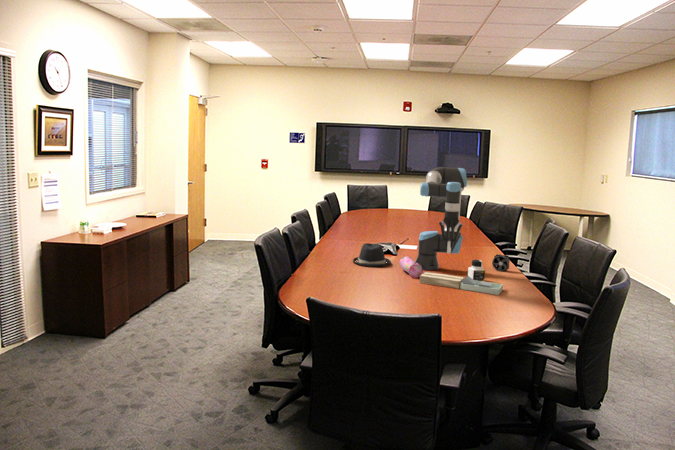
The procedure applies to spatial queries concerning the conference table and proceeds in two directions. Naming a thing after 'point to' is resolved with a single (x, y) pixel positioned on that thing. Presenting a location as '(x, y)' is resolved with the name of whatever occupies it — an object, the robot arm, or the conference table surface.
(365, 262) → the fedora
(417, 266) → the pencil case
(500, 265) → the cpu cooler
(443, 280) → the wooden block
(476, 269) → the medicine bottle
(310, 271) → the conference table surface
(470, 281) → the tile rear
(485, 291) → the tray
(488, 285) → the tile front
